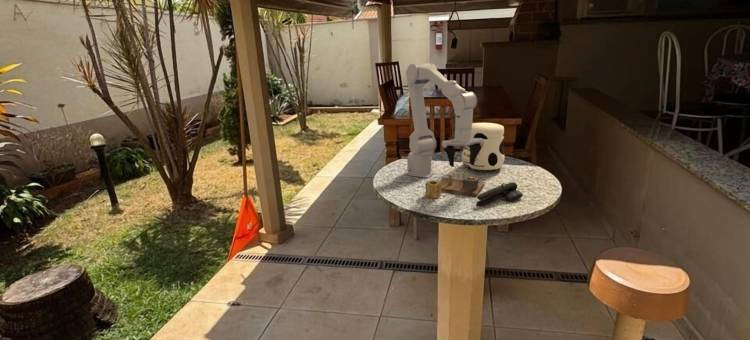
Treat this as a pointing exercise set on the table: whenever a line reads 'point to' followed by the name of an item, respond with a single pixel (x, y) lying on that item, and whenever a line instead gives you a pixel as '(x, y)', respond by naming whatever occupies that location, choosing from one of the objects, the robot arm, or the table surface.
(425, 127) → the robot arm
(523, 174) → the table surface
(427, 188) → the brass gear
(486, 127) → the milk container
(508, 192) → the can opener
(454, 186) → the gear board
